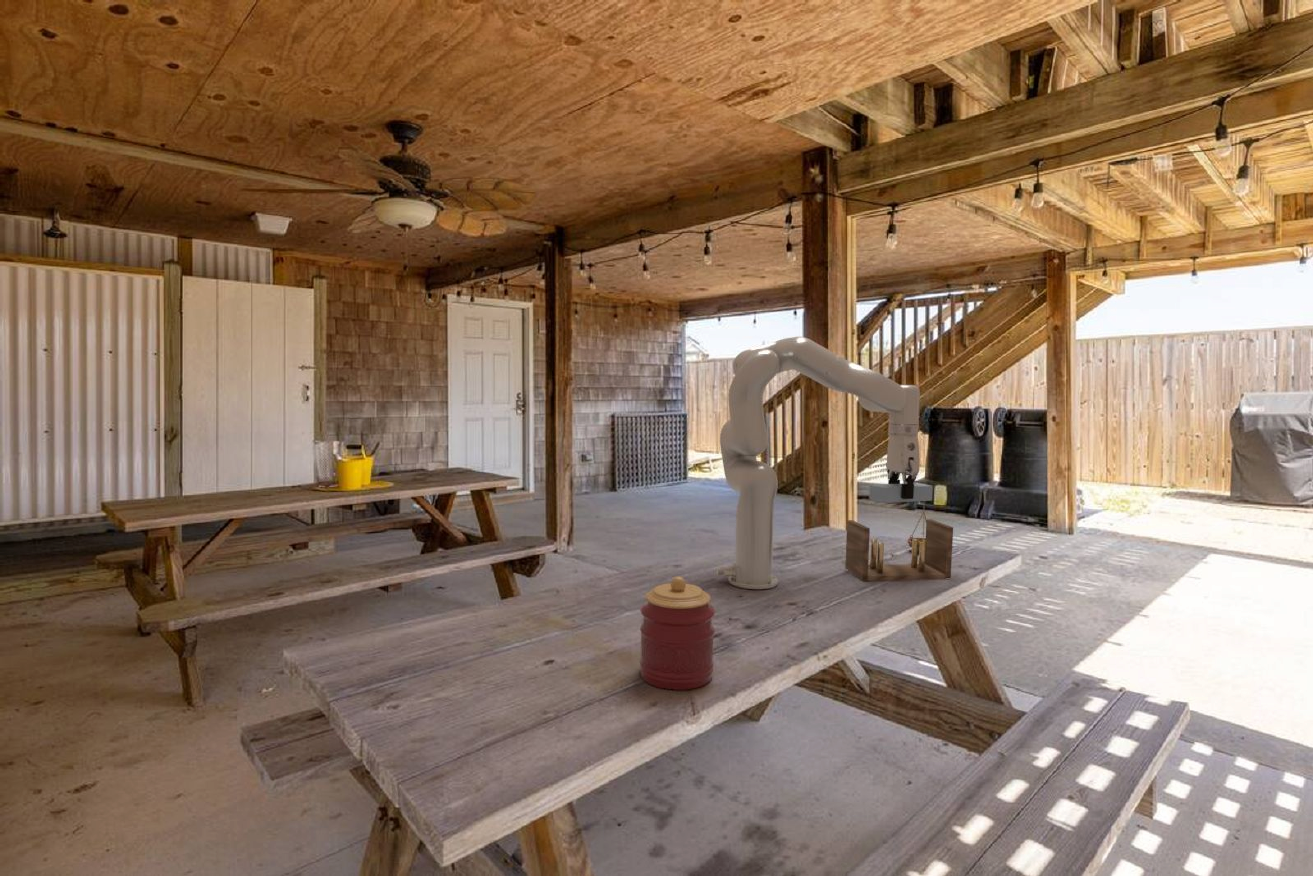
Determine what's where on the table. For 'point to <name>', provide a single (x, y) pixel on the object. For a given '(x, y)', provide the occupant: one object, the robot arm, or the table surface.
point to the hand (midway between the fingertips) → (900, 495)
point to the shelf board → (899, 493)
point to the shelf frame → (935, 564)
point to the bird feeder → (918, 522)
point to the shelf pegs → (922, 550)
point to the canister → (677, 636)
